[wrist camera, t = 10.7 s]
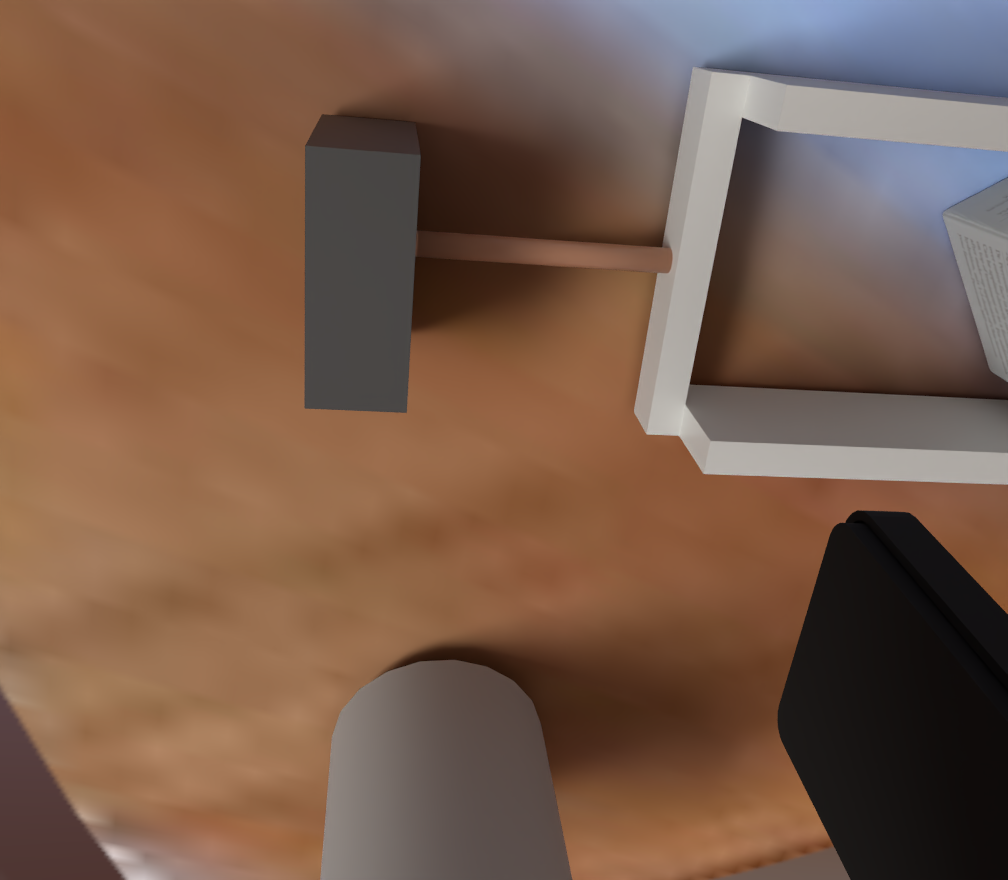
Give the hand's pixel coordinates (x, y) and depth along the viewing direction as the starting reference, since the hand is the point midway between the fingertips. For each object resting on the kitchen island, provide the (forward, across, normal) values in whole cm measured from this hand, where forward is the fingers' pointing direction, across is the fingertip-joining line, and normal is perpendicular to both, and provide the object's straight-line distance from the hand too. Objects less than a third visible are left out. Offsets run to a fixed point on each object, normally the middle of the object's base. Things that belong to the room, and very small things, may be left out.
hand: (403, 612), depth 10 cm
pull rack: (+17, -11, 0) cm, 21 cm away
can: (+18, -2, +18) cm, 26 cm away
